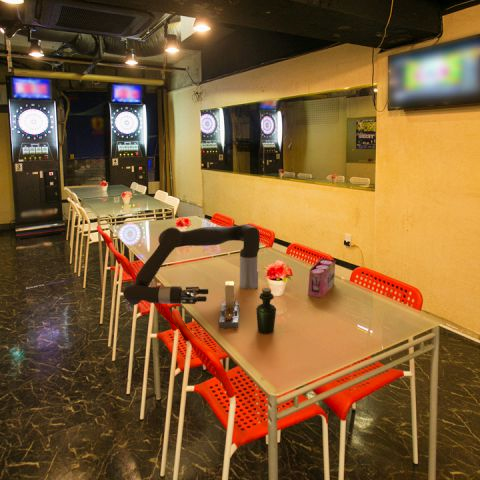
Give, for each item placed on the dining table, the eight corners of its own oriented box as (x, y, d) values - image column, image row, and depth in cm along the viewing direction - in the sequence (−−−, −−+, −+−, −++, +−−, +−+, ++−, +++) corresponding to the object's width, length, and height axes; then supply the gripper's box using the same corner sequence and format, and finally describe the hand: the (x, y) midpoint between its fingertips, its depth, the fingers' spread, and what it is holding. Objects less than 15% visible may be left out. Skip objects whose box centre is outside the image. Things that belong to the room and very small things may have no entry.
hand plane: (222, 307, 195) (222, 297, 194) (239, 307, 195) (239, 297, 194) (219, 328, 174) (219, 317, 172) (238, 328, 173) (238, 317, 172)
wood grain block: (225, 308, 186) (225, 281, 183) (234, 308, 186) (233, 281, 183) (225, 313, 181) (225, 285, 178) (233, 313, 181) (233, 285, 178)
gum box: (322, 299, 205) (323, 272, 202) (306, 296, 209) (307, 270, 206) (334, 284, 226) (335, 260, 223) (320, 281, 230) (321, 258, 226)
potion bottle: (270, 324, 177) (270, 284, 173) (279, 333, 170) (280, 291, 165) (252, 328, 174) (253, 287, 169) (261, 336, 167) (262, 294, 162)
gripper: (167, 292, 174) (205, 293, 174) (172, 281, 188) (208, 281, 188) (167, 309, 176) (206, 309, 176) (173, 296, 190) (209, 297, 190)
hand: (207, 295), depth 182 cm, fingers open, 8 cm apart
